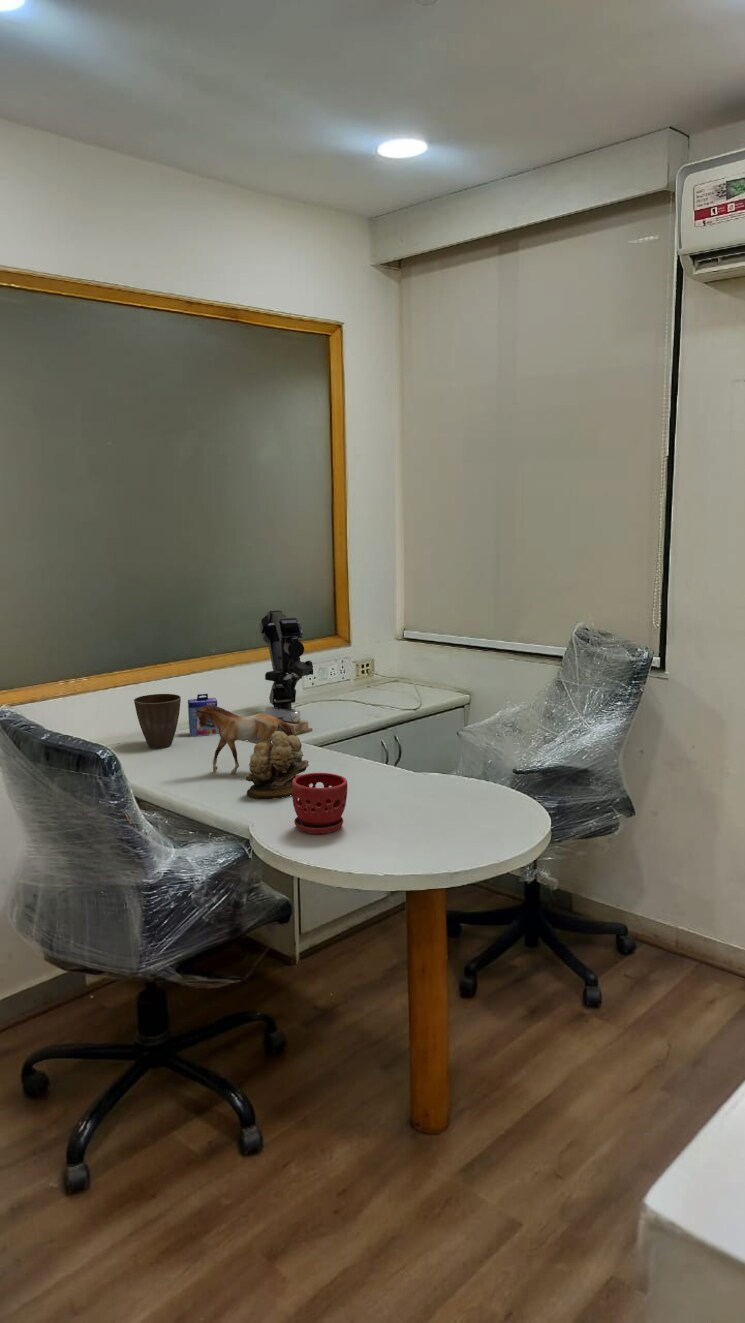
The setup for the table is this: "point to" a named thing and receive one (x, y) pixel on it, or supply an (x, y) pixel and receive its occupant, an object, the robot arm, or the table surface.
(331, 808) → the plant pot
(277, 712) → the lock bar
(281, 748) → the beige lumpy carved figure
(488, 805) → the table surface
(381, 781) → the table surface
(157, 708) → the plant pot
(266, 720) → the horse figurine
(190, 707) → the ink cartridge box
